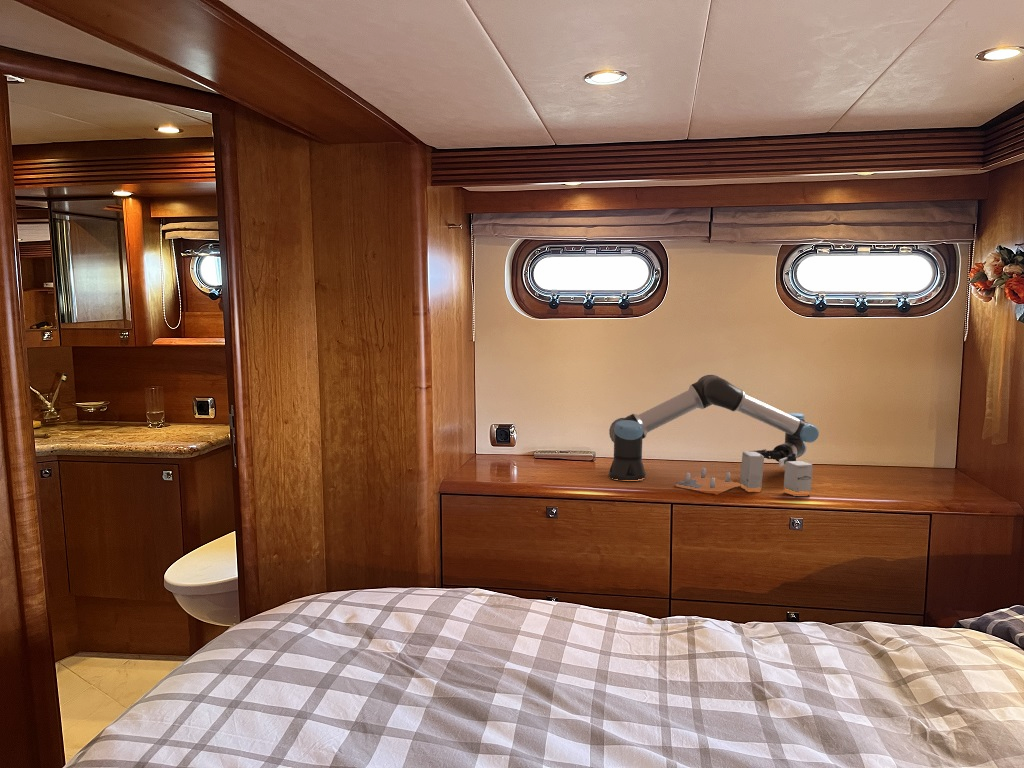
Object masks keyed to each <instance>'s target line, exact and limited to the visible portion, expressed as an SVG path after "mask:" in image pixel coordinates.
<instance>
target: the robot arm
mask: <svg viewBox="0 0 1024 768" xmlns="http://www.w3.org/2000/svg"><path fill="white" fill-rule="evenodd" d="M712 405H713V406H717V407H720V408H724V409H726V410H729V411H731V412H737V411H738V412H739V413H741V414H744V415H746V416H748V417H751V418H752V419H755V420H757V421H759V422H761V423H764V424H765V425H768V426H770V427H773V428H775V429H777V430H779V431H781V432H784V434H785V435H784V443H781V444H779V445H776V446H775V447H774V448H773V449H772V450H768V449H766V448H765V449H760V450H759V449H758V450H751V451H752V452H757V453H759V454H761V455H762V456H764V459H767V460H775V461H776V462H778V467H780V468H781V467H785V462H788V461H797V459H798V458H800V457H802V456H803V455H805V454H806V451H807V445H806V443H814V442H816V441H817V440H818V438H819V436H820V435H819V434H820V432H819V429H818V427H817V426H815V425H813V424H812V423H809V422H807V421H806V419H805V414H804V413H798V412H785V411H783V410H780V409H778V408H777V407H775V406H772V405H770V404H768V403H766V402H763V401H761V400H759V399H756V398H755V397H753V396H750V395H748V394H746V393H745V391H744V390H743V389H741V388H739V387H737V386H735V385H734V384H732V383H730V382H729V381H728V380H726V379H724V378H721V377H720V376H718V375H715V374H705V375H703V376H701V377H700V378H699V379H698V380H697V381H695V382H694V383H692V384H690V385H689V387H688V389H687V390H686V391H684V392H681V393H680V394H677V395H676V396H674V397H672V398H670V399H668V400H666V401H664V402H661V403H660V404H657V405H656V406H654V407H651V408H650V409H647V410H646V411H644V412H642V413H639V414H637V413H631V414H629V415H627V416H626V417H620V418H616V419H615V420H613V422H612V423H611V424H610V427H609V430H608V431H609V433H608V434H609V437H610V439H611V442H612V443H613V459H612V463H611V466H610V468H609V471H608V478H609V477H610V478H613V479H618V480H638V479H642V478H645V479H646V477H647V475H646V472H645V467H644V464H643V460H642V459H643V439H646V438H647V435H648V433H650V432H652V431H654V430H655V429H658V428H659V427H662V426H664V425H666V424H667V423H669V422H672V421H674V420H676V419H677V418H678V419H679V417H680V418H681V416H684V415H686V414H688V413H690V412H692V411H694V410H696V409H701V410H704V409H705V408H708V407H710V406H712ZM610 478H609V479H610ZM613 479H612V480H613Z"/></svg>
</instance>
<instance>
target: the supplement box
mask: <svg viewBox="0 0 1024 768" xmlns="http://www.w3.org/2000/svg"><path fill="white" fill-rule="evenodd" d="M813 466H814V464H812V463H810V462H806V461H802V460H796V461H788V462H785V465H784V476H783V477H784V479H783V489H784V488H786V489H789V490H792V491H795V492H799V491H811V492H812V484H813V483H812V481H813Z"/></svg>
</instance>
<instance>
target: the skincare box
mask: <svg viewBox="0 0 1024 768" xmlns="http://www.w3.org/2000/svg"><path fill="white" fill-rule="evenodd" d="M752 451H753V450H748V451H746V450H743V451H742V455H741V467H740V478H739V482H740V483H741V484H743V485H744V486H746V487H747V488H757V487H761V488H762V487H763V486H762V484H763V473H764V462H765V458H764V456H762V455H761V454H759V453H757V452H752Z"/></svg>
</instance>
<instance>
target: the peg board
mask: <svg viewBox="0 0 1024 768" xmlns="http://www.w3.org/2000/svg"><path fill="white" fill-rule="evenodd" d="M706 472H707V468H706V467H701V471H700V475H701V478H705V476H707V475H706V474H707V473H706ZM711 477H712V478H710V488H715V478H716V477H714V478H713V476H711ZM684 478H685V479H684V480H680V481H678V482H675V483H674V485H675V484H679V485H684V486H690V487H695V488H700V487H702V485H698V484H696V482H697V481H696V480H692V479H691V478H695V476H693V477H691V473H690V472H685V477H684ZM730 481H731V472H730V471H726V472H725V482H730Z"/></svg>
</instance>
